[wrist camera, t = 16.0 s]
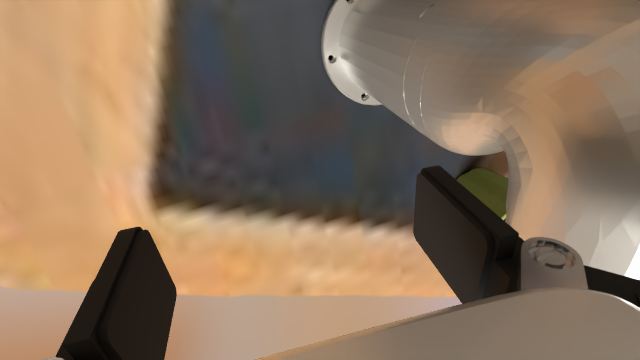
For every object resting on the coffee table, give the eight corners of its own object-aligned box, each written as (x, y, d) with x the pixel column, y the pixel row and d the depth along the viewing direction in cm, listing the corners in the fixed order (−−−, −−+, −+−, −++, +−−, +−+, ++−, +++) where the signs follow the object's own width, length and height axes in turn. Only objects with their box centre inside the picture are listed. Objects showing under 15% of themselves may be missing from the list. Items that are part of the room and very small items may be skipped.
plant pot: (515, 144, 45) (591, 185, 35) (498, 213, 51) (559, 264, 41) (436, 159, 43) (494, 206, 34) (428, 229, 49) (475, 286, 40)
